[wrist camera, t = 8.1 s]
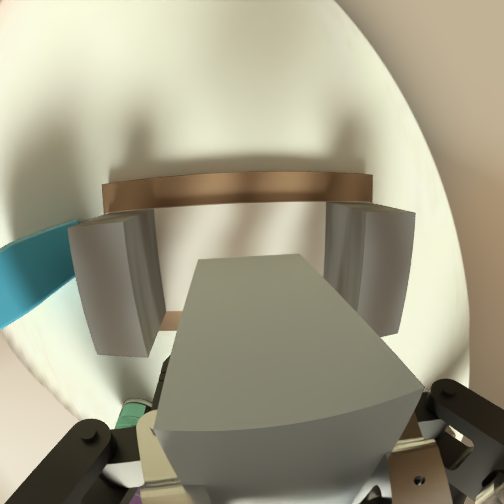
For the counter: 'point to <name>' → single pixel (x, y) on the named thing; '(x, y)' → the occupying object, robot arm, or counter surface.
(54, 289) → the blue rounded block
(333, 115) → the counter surface
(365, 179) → the wooden block stand
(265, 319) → the block
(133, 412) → the spray can
